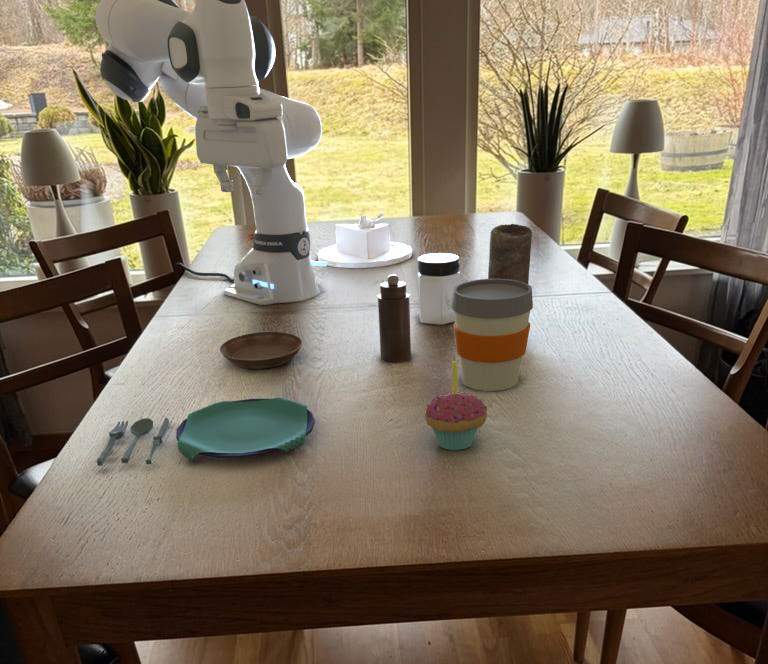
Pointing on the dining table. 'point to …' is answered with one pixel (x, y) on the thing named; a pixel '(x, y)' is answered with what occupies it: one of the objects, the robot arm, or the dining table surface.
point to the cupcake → (455, 416)
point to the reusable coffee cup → (491, 331)
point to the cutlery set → (228, 430)
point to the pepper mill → (394, 321)
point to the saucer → (261, 349)
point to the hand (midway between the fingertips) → (244, 193)
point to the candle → (510, 252)
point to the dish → (364, 246)
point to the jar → (437, 287)
